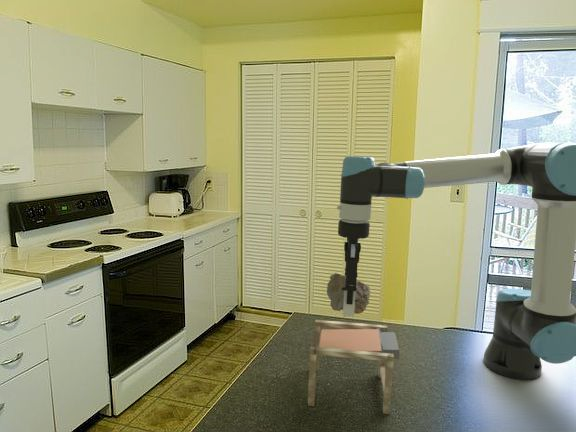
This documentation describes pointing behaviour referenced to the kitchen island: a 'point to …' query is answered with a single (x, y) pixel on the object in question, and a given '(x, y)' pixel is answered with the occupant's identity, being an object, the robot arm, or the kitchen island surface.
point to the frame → (382, 357)
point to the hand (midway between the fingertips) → (348, 308)
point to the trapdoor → (360, 340)
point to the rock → (338, 294)
